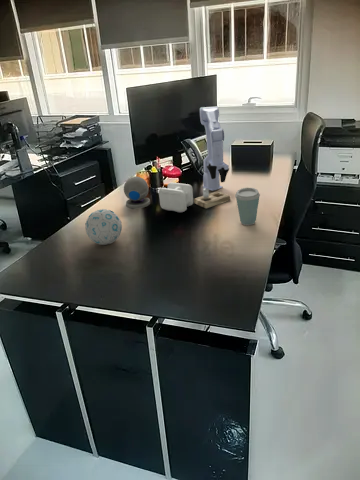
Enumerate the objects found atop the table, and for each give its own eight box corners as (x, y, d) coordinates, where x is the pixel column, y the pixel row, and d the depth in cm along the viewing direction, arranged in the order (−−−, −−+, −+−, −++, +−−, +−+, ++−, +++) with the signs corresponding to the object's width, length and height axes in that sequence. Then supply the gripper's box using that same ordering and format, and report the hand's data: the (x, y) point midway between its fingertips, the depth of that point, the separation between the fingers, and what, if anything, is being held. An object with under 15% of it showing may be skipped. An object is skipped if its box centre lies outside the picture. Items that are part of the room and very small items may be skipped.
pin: (202, 203, 187) (201, 188, 184) (207, 202, 189) (206, 187, 185) (205, 205, 185) (204, 190, 181) (210, 203, 186) (209, 189, 183)
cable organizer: (195, 206, 185) (194, 184, 179) (184, 214, 177) (183, 191, 172) (170, 202, 192) (168, 181, 187) (159, 209, 184) (157, 188, 179)
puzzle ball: (90, 253, 148) (82, 220, 141) (88, 238, 161) (81, 207, 154) (126, 246, 151) (121, 213, 144) (121, 232, 164) (116, 201, 157)
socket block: (194, 203, 189) (194, 198, 187) (217, 195, 196) (217, 190, 195) (206, 208, 181) (206, 203, 180) (230, 200, 189) (230, 195, 188)
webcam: (152, 199, 199) (148, 172, 192) (148, 208, 187) (144, 180, 181) (129, 200, 200) (125, 173, 193) (123, 209, 189) (119, 181, 182)
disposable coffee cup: (259, 227, 157) (260, 195, 150) (234, 227, 160) (234, 195, 153) (259, 217, 167) (260, 186, 160) (235, 217, 169) (235, 187, 162)
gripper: (202, 153, 184) (203, 178, 190) (220, 158, 173) (221, 185, 179) (213, 150, 187) (214, 175, 194) (231, 155, 176) (231, 182, 183)
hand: (218, 180), depth 187 cm, fingers open, 7 cm apart
